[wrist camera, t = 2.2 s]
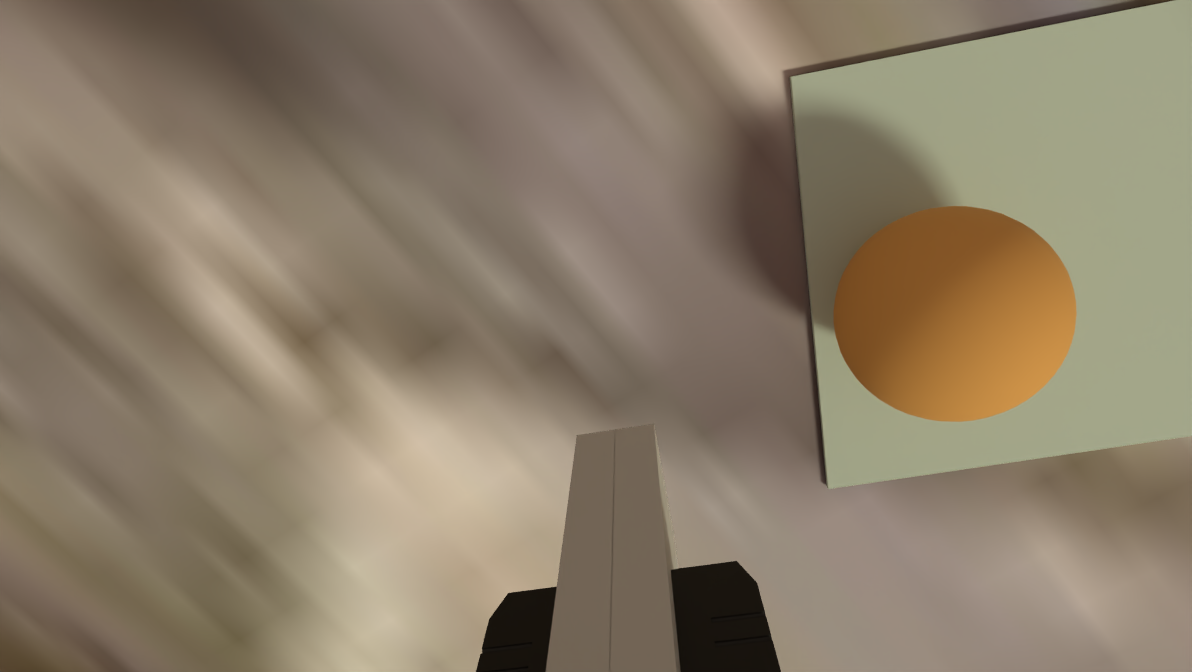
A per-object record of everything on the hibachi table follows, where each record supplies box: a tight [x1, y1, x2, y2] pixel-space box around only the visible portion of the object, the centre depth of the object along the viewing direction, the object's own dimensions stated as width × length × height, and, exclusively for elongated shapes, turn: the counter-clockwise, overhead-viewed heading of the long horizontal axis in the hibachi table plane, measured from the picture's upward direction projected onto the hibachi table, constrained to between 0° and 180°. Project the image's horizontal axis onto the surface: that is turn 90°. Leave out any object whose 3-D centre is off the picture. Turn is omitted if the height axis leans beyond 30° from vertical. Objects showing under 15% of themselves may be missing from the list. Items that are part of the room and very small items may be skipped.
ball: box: [833, 206, 1077, 422], centre depth 19 cm, size 6×6×6 cm
